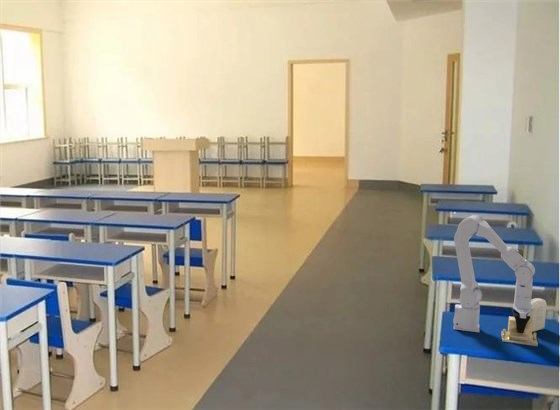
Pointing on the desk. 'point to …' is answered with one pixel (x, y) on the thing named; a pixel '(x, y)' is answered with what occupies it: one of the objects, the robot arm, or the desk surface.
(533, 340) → the plate
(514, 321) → the board
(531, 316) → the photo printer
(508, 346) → the desk surface
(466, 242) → the robot arm
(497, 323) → the desk surface
